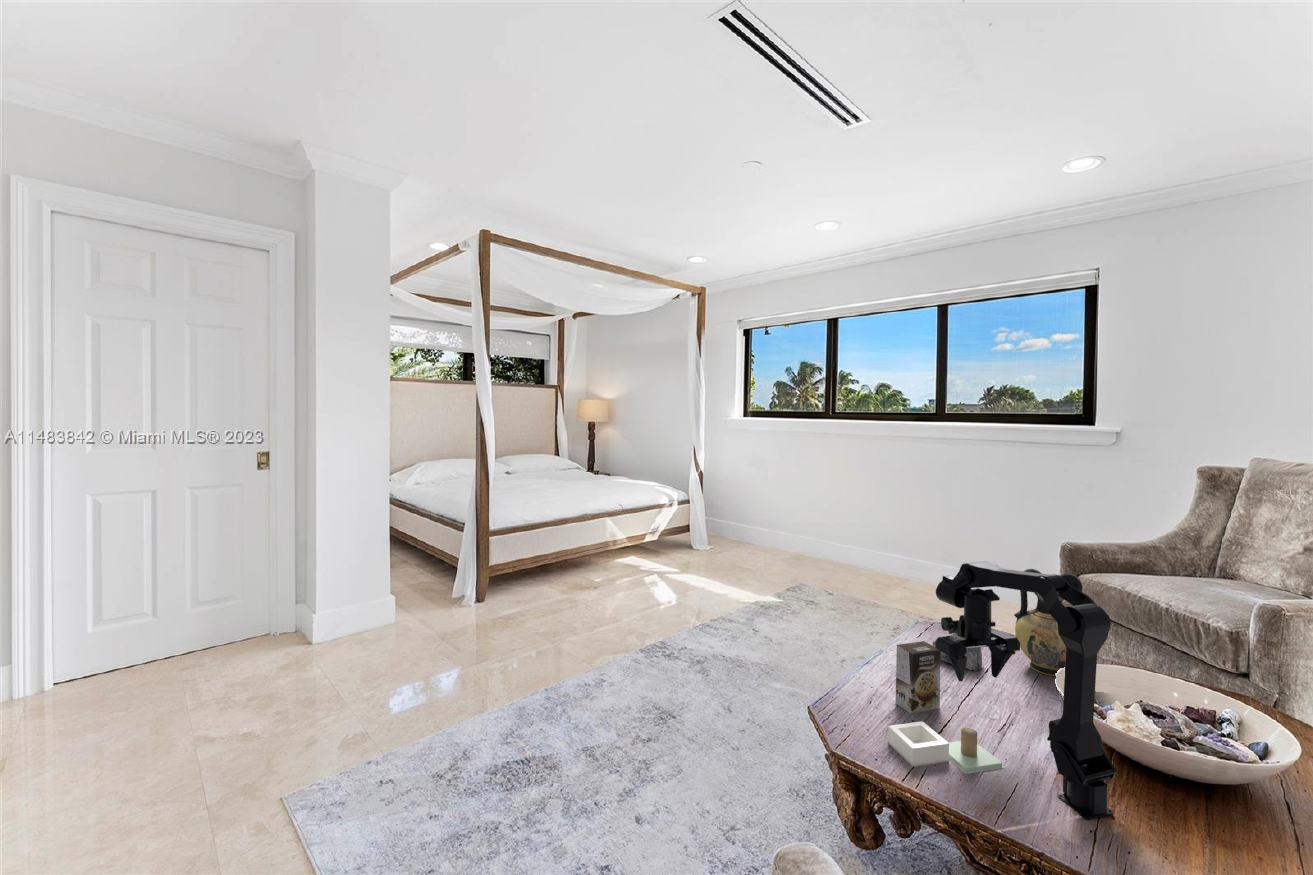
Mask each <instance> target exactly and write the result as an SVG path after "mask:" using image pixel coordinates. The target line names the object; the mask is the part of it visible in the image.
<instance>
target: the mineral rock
mask: <svg viewBox="0 0 1313 875" xmlns="http://www.w3.org/2000/svg"><path fill="white" fill-rule="evenodd" d="M948 636H952V637H954V638H956V639H957V640H959V641H960V640H964V638H963V637H959V636H958V633H953V634H949V635H948ZM935 641H936V640H935ZM935 641H934V640H933V642H932V645H933V646H935ZM964 656H966V657H967V662H966V668H965V669H968V670H970V671H975V672H976V671H978V670H979V669H981V668H982V666H983V653H982V647H979V648H969V649H966V654H965V655H964ZM940 661H943V662H946V663H949V664H951V665H952V662H951V660H950V658H949V657H948V655H946V654H945V653H943V652H941V658H940Z"/></svg>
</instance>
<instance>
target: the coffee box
mask: <svg viewBox="0 0 1313 875" xmlns="http://www.w3.org/2000/svg"><path fill="white" fill-rule="evenodd" d="M895 655H896V657H895V659H896V660H895V662H896V663H895V664H896V665H895V704H896V705H898V706H899V707H901V709H903V710H904V711H905V712H908V713H910V714H917V713H922V712H928V711H932V710H933V711H934V710H939V709H940V708H941V707H940V706H941V660H940V658H941V651H940V650H938V649H937V648H935V646H933V644H930V643H928V642H926V641H924V640H923V641H915V642H914V641H913V642H909V643H900V644H896V654H895Z"/></svg>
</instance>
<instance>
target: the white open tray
mask: <svg viewBox="0 0 1313 875" xmlns="http://www.w3.org/2000/svg"><path fill="white" fill-rule="evenodd" d="M887 744H888V745H889V746H890V747H891V748H893V749H894V750H895V752H896V753H898V755H900V756H901V757H902V758H903V759H904V760H905V761H906V763H908V764H909V765H910V766H911V768H913V767H920V766H927V765H936V764H941V763H947V762H949V761H950V760H949V741H947V740H946V739H945V738H943V737H942V736H941V735H940V734H939V733H937V732H936V731H935V730H934V729H932V728H931V727H930V726H929V725H928V724H926V723H925V722H924V721H915V722H908V723H900V724H899V723H898V724H891V725H888V726H887Z"/></svg>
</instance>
